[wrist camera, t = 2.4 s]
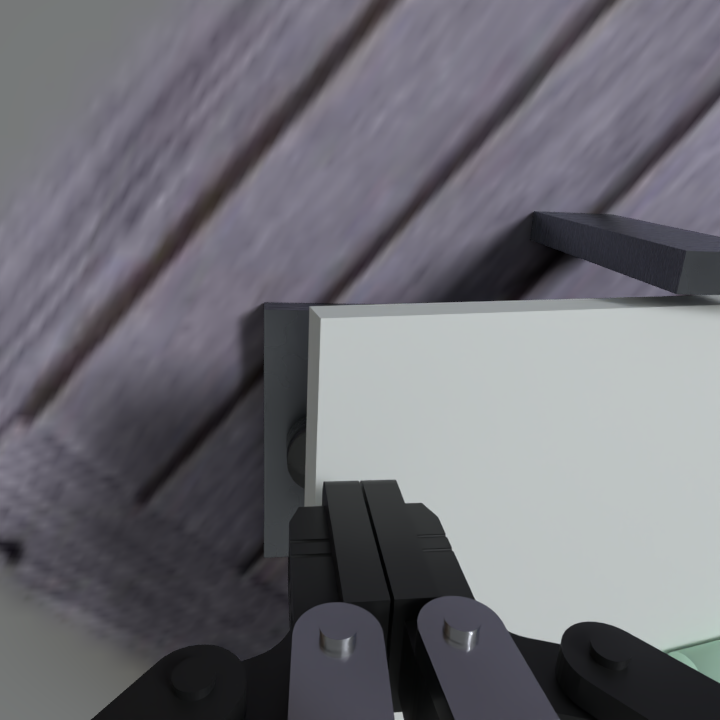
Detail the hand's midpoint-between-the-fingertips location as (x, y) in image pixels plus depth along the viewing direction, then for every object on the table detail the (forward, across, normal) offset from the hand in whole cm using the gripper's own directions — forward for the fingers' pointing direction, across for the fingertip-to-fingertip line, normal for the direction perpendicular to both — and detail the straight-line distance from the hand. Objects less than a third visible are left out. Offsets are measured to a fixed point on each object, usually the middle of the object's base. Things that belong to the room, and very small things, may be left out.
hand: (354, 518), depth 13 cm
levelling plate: (+3, -9, +3) cm, 10 cm away
